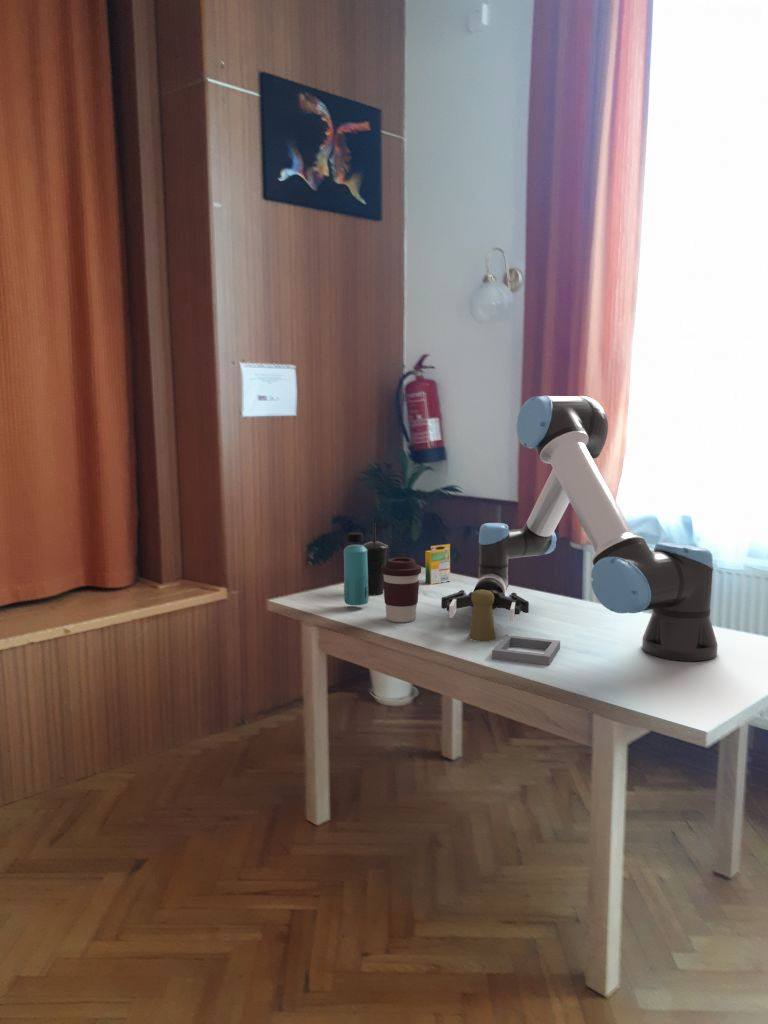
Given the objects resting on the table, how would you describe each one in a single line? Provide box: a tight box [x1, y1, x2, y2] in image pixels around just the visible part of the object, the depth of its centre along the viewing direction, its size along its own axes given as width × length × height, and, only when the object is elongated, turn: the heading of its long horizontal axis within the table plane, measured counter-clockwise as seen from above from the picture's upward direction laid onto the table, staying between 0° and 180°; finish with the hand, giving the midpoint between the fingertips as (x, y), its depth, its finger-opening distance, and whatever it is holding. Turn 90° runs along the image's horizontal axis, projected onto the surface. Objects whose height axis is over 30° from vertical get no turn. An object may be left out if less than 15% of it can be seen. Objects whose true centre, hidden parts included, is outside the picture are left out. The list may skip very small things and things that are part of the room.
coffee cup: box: [381, 557, 422, 623], centre depth 198 cm, size 10×10×15 cm
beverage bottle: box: [343, 532, 370, 606], centre depth 209 cm, size 6×7×20 cm
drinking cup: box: [362, 522, 389, 596], centre depth 225 cm, size 8×8×20 cm
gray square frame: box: [491, 634, 561, 666], centre depth 171 cm, size 12×12×2 cm
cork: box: [468, 590, 496, 642], centre depth 182 cm, size 6×6×11 cm
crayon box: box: [424, 543, 451, 585], centre depth 239 cm, size 7×3×12 cm, turn 122°
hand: (481, 613), depth 179 cm, fingers open, 13 cm apart
